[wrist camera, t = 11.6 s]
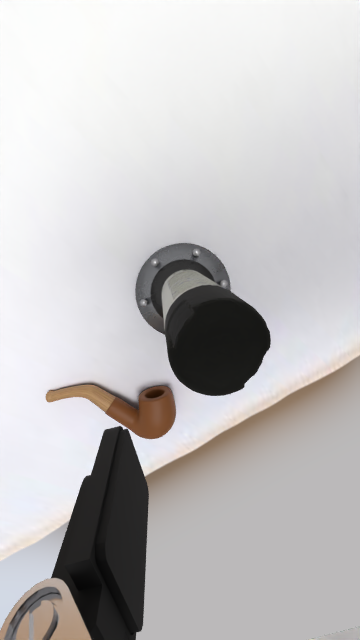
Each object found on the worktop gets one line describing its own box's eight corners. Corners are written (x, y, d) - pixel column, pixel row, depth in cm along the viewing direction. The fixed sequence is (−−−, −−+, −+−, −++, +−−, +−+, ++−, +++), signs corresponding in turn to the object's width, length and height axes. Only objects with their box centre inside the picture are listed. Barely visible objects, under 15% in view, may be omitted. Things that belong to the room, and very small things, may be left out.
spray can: (152, 302, 35) (146, 374, 16) (177, 258, 33) (204, 276, 14) (193, 325, 36) (235, 416, 17) (219, 283, 35) (296, 331, 16)
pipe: (47, 380, 38) (28, 404, 33) (175, 380, 40) (178, 403, 34) (52, 422, 40) (35, 452, 35) (173, 420, 42) (176, 448, 36)
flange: (219, 233, 34) (222, 232, 33) (235, 323, 38) (238, 326, 37) (124, 255, 34) (123, 256, 33) (149, 344, 38) (149, 348, 36)
